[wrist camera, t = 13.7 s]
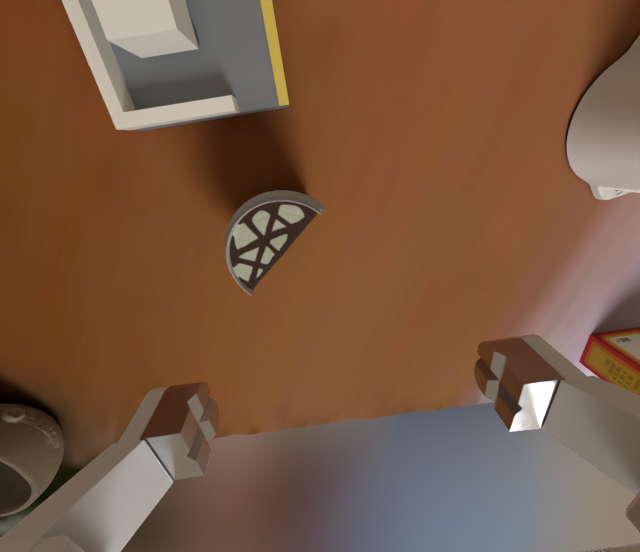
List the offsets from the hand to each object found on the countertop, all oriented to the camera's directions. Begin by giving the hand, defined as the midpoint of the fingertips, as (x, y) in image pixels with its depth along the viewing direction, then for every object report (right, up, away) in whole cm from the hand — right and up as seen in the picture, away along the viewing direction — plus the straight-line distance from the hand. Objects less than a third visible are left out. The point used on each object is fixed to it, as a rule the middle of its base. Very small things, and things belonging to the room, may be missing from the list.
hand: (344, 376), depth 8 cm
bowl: (-52, -23, +40) cm, 69 cm away
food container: (-7, +11, +27) cm, 30 cm away
